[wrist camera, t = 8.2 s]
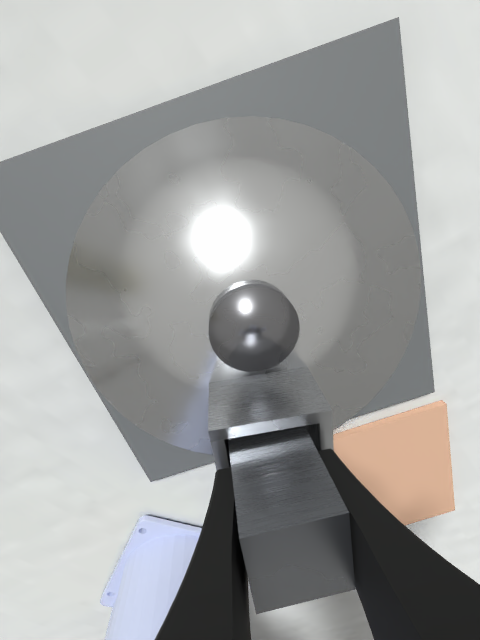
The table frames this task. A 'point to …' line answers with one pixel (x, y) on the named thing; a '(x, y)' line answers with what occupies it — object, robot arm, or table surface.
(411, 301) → the metal pot lid
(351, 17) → the table surface
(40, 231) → the base plate
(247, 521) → the dark grey rectangular block
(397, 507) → the mat
